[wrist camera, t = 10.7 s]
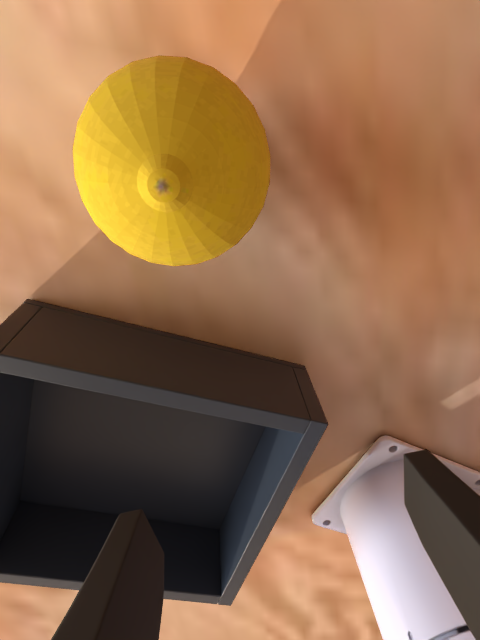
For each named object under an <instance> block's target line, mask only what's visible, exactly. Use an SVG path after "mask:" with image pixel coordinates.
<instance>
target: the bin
mask: <svg viewBox="0 0 480 640" xmlns="http://www.w3.org/2000/svg"><path fill="white" fill-rule="evenodd" d="M327 426H328V422H327V420H326V417H325V415H324V412H323V410H322V407H321V405H320V402H319V400H318V398H317V395H316V393H315V390H314V388H313V385H312V383H311V380H310V378H309V375H308V373H307V371H306V368H305V366H303V365H298V364H294V363H290V362H286V361H282V360H278V359H274V358H270V357H265V356H261V355H257V354H253V353H249V352H245V351H241V350H237V349H232V348H228V347H224V346H220V345H216V344H212V343H208V342H204V341H199V340H195V339H191V338H187V337H183V336H179V335H175V334H171V333H166V332H162V331H158V330H154V329H150V328H146V327H142V326H138V325H133V324H129V323H125V322H121V321H117V320H113V319H109V318H105V317H100V316H96V315H92V314H88V313H84V312H80V311H76V310H72V309H67V308H63V307H59V306H55V305H51V304H47V303H43V302H39V301H34V300H30V299H27V300H26V301H24V303H23V304H22V305H21V306H20V307H19V308H18V309H16V310H15V311H14V312H13V313H12V314H11V315H10V316H9V317H8V318H7V319H6V320H5V321H4V322H3V323H2V324H1V325H0V582H2V583H12V584H22V585H32V586H42V587H52V588H62V589H71V590H80V588H81V587H82V585H83V583H84V581H85V579H86V578H87V576H88V574H89V572H90V570H91V568H92V566H93V564H94V562H95V561H96V559H97V557H98V555H99V553H100V551H101V549H102V547H103V545H104V543H105V541H106V539H107V537H108V535H109V533H110V531H111V529H112V527H113V526H114V524H115V522H116V520H117V518H118V516H119V515H120V513H125V512H129V511H134V510H139V509H142V510H143V512H144V514H145V516H146V518H147V520H148V522H149V524H150V526H151V528H152V530H153V532H154V534H155V536H156V538H157V540H158V542H159V544H160V546H161V548H162V550H163V552H164V597H163V599H171V600H181V601H191V602H201V603H211V604H217V603H218V604H219V605H229V606H231V604H232V602H233V601H234V599H235V597H236V595H237V593H238V591H239V589H240V588H241V586H242V584H243V582H244V580H245V578H246V576H247V575H248V573H249V571H250V569H251V567H252V565H253V563H254V562H255V560H256V558H257V556H258V554H259V552H260V550H261V548H262V547H263V545H264V543H265V541H266V539H267V537H268V535H269V534H270V532H271V530H272V528H273V526H274V524H275V522H276V521H277V519H278V517H279V515H280V513H281V511H282V509H283V508H284V506H285V504H286V502H287V500H288V498H289V496H290V495H291V493H292V491H293V489H294V487H295V485H296V483H297V481H298V480H299V478H300V476H301V474H302V472H303V470H304V468H305V467H306V465H307V463H308V461H309V459H310V457H311V455H312V454H313V452H314V450H315V448H316V446H317V444H318V442H319V441H320V439H321V437H322V435H323V433H324V431H325V429H326V428H327Z"/></svg>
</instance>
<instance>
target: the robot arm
mask: <svg viewBox="0 0 480 640" xmlns="http://www.w3.org/2000/svg"><path fill="white" fill-rule="evenodd" d="M391 446H392V447H391ZM312 522H313V523H314V524H315V525H318V526H321V527H324V528H328V529H331V530H334V531H338V532H341V533H344V534H347V535H348V538H349V541H350V544H351V547H352V550H353V553H354V556H355V559H356V561H357V564H358V567H359V570H360V573H361V576H362V579H363V582H364V585H365V588H366V591H367V594H368V597H369V600H370V602H371V605H372V608H373V611H374V614H375V617H376V620H377V623H378V626H379V629H380V632H381V635H382V638H383V640H480V472H478V471H476V470H473V469H471V468H468V467H466V466H463V465H461V464H458V463H456V462H453V461H451V460H448V459H446V458H443V457H441V456H438V455H436V454H433V453H431V452H430V451H428V450H427V449H425V450H423V449H421V448H418V447H416V446H413V445H411V444H408V443H406V442H403V441H401V440H398V439H396V438H393V437H391V436H387V435H386V436H381V437H380V438H378V439H377V440H376V442H375V443H374V444H373V445H372V446H371V447H370V448H369V450H368V451H367V452H366V453H365V454H364V455H363V457H362V458H361V459H360V460H359V461H358V462H357V463H356V465H355V466H354V467H353V468H352V469H351V470H350V472H349V473H348V474H347V475H346V476H345V477H344V478H343V480H342V481H341V482H340V483H339V484H338V485H337V486H336V488H335V489H334V490H333V491H332V492H331V493H330V495H329V496H328V497H327V498H326V499H325V500H324V501H323V503H322V504H321V505H320V506H319V507H318V508H317V509H316V511H315V512H314V513H313V514H312ZM163 597H164V552H163V550H162V548H161V546H160V544H159V542H158V540H157V538H156V536H155V534H154V532H153V530H152V528H151V526H150V524H149V522H148V520H147V518H146V516H145V514H144V512H143V510H142V509H139V510H134V511H129V512H125V513H120V515H119V516H118V518H117V520H116V522H115V524H114V526H113V527H112V529H111V531H110V533H109V535H108V537H107V539H106V541H105V543H104V545H103V547H102V549H101V551H100V553H99V555H98V557H97V559H96V561H95V562H94V564H93V566H92V568H91V570H90V572H89V574H88V576H87V578H86V579H85V581H84V583H83V585H82V587H81V588H80V590H79V592H78V594H77V596H76V598H75V599H74V601H73V603H72V605H71V607H70V608H69V610H68V612H67V614H66V615H65V617H64V619H63V620H62V622H61V624H60V625H59V627H58V629H57V631H56V632H55V634H54V636H53V637H52V639H51V640H158V639H159V631H160V623H161V614H162V606H163Z"/></svg>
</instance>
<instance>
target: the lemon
mask: <svg viewBox="0 0 480 640" xmlns="http://www.w3.org/2000/svg"><path fill="white" fill-rule="evenodd" d="M73 160H74V174H75V179H76V182H77V186H78V189H79V192H80V195H81V198H82V202H83V203H84V205H85V207H86V208H87V210H88V212H89V214H90V215H91V217H92V219H93V221H94V222H95V224H96V225H97V226H98V227H99V228H100V229H101V230H102V231H103V232H104V233H105V234H106V236H107V237H108V238H109V239H110V240H111V241H112V242H114V243H115V244H117V245H118V246H120V247H121V248H122V249H124V250H125V251H127V252H128V253H130V254H131V255H134V256H136V257H139V258H141V259H144V260H146V261H149V262H151V263H156V264H163V265H170V266H181V265H192V264H198V263H201V262H204V261H207V260H210V259H213V258H216V257H218V256H219V255H221V254H222V253H224V252H226V251H227V250H229V249H230V248H232V247H233V246H235V245H236V244H237V243H238V242H239V241H240V240H241V239H242V237H243V236H244V235H245V234H246V233H247V232H248V231H249V230H250V229H251V228H252V226H253V224H254V222H255V221H256V219H257V217H258V215H259V213H260V211H261V210H262V208H263V206H264V202H265V198H266V194H267V191H268V187H269V183H270V152H269V147H268V143H267V138H266V133H265V129H264V127H263V125H262V123H261V121H260V119H259V117H258V114H257V112H256V110H255V108H254V106H253V105H252V103H251V102H250V101H249V100H248V98H247V97H246V96H245V95H244V94H243V92H242V91H241V90H240V89H239V87H238V86H237V85H236V84H235V83H234V82H232V81H231V80H230V79H228V78H227V77H226V76H224V75H223V74H221V73H220V72H219V71H217V70H216V69H215V68H213V67H211V66H208V65H205V64H203V63H200V62H198V61H195V60H192V59H190V58H187V57H173V56H160V55H159V56H155V57H151V58H146V59H142V60H137V61H133V62H131V63H130V64H128V65H126V66H125V67H123V68H121V69H119V70H118V71H116V72H114V73H113V74H111V75H109V76H108V77H107V78H106V79H105V80H104V81H103V83H102V84H101V85H100V86H99V87H98V88H97V89H96V90H95V91H94V93H93V94H92V95H91V96H90V98H89V100H88V102H87V104H86V106H85V108H84V110H83V112H82V114H81V116H80V118H79V120H78V123H77V128H76V134H75V139H74V144H73Z"/></svg>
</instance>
